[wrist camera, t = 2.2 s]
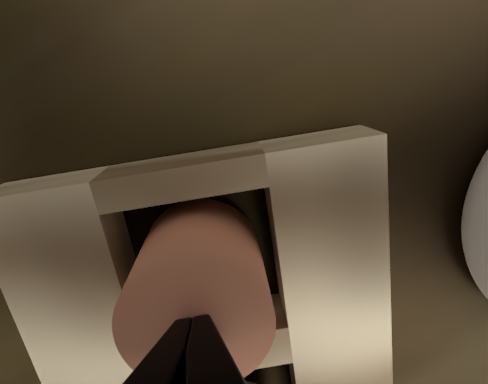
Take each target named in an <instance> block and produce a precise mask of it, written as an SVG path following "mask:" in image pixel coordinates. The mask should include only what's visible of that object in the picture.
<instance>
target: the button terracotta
mask: <svg viewBox="0 0 488 384" xmlns="http://www.w3.org/2000/svg"><path fill="white" fill-rule="evenodd" d="M205 314H209V315H210V316H211V318H212V320H213V322H214V324H215V325H216V327H217V329H218V331H219V333H220V335H221V337H222V339H223V341H224V342H225V344H226V346H227V348H228V350H229V352H230V354H231V356H232V357H233V359H234V361H235V363H236V365H237V367H238V369H239V371H240V372H241V374H242V376H243V378H244V377H246V376H247V375H249V374H250V373H251V372H252V371H254V370H255V369H256V368H257V367H258V366H259V365H260V364H261V362H262V361H263V360H264V358H265V357H266V355H267V354H268V352H269V350H270V348H271V346H272V343H273V341H274V337H275V332H276V315H275V310H274V306H273V302H272V297H271V293H270V289H269V285H268V280H267V276H266V272H265V267H264V263H263V259H262V255H261V250H260V246H259V242H258V238H257V235H256V232H255V230H254V228H253V226H252V224H251V223H250V222H249V220H248V219H247V218H246V217H245V216H244V215H243V214H242V213H241V212H240V211H238V210H237V209H236V208H234V207H232V206H230V205H228V204H226V203H223V202H220V201H216V200H211V199H194V200H188V201H184V202H181V203H178V204H176V205H174V206H172V207H170V208H169V209H167V210H166V211H165V212H163V213H162V214H161V215H160V216H159V217H158V218H157V219H156V221H155V222H154V223H153V225H152V227H151V228H150V230H149V233H148V235H147V237H146V239H145V241H144V243H143V246H142V248H141V250H140V252H139V254H138V256H137V258H136V261H135V263H134V265H133V267H132V269H131V271H130V274H129V276H128V278H127V280H126V282H125V284H124V287H123V289H122V291H121V293H120V295H119V297H118V300H117V302H116V304H115V307H114V311H113V315H112V334H113V338H114V342H115V345H116V347H117V350H118V352H119V353H120V355H121V357H122V358H123V360H124V361H125V362H126V363H127V365H128V366H129V367H130V368H131V369H132V370H134V369H135V368H136V367H137V365H138V364H139V363H140V362H141V361H142V359H143V358H144V357H145V356H146V355H147V353H148V352H149V351H150V350H151V349H152V347H153V346H154V345H155V344H156V343H157V341H158V340H159V339H160V338H161V337H162V335H163V334H164V333H165V332H166V331H167V329H168V328H169V327H170V326H171V325H172V323H173V322H174V321H175V320H177V319H181V318H187V317H191V318H192V319H193V317H195V316H199V315H205Z"/></svg>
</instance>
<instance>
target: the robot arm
mask: <svg viewBox="0 0 488 384" xmlns="http://www.w3.org/2000/svg"><path fill="white" fill-rule="evenodd" d="M123 384H246V382H245V380H244V378H243V376H242V374H241V372H240V371H239V369H238V367H237V365H236V363H235V361H234V359H233V357H232V356H231V354H230V352H229V350H228V348H227V346H226V344H225V342H224V341H223V339H222V337H221V335H220V333H219V331H218V329H217V327H216V325H215V324H214V322H213V320H212V318H211V316H210V315H209V314H205V315H199V316H195V317H193V319H192V318H191V317H187V318H181V319H177V320H175V321H174V322H173V323H172V325H171V326H170V327H169V328H168V329H167V331H166V332H165V333H164V334H163V335H162V337H161V338H160V339H159V340H158V341H157V343H156V344H155V345H154V346H153V347H152V349H151V350H150V351H149V352H148V353H147V355H146V356H145V357H144V358H143V359H142V361H141V362H140V363H139V364H138V365H137V367H136V368H135V369H134V370H133V371H132V373H131V374H130V375H129V376H128V377H127V379H126V380H125V381H124V382H123Z"/></svg>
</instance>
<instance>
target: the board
mask: <svg viewBox="0 0 488 384" xmlns="http://www.w3.org/2000/svg"><path fill="white" fill-rule="evenodd" d="M261 188H264V189H265V197H266V204H267V211H268V218H269V225H270V232H271V239H272V246H273V254H274V261H275V268H276V275H277V282H278V289H279V293H277V294H271V297H272V302H273V306H274V310H275V315H276V332H275V337H274V341H273V343H272V346H271V348H270V350H269V352H268V354H267V355H266V357H265V358H264V360H263V361H262V362H261V364H260V365H259V366H258V367H257V368H256V369H261V368H267V367H273V366H278V365H284V364H289V368H290V375H291V382H292V384H393V373H392V330H391V287H390V244H389V201H388V158H387V133H384V132H381V131H378V130H375V129H372V128H369V127H366V126H363V125H355V126H349V127H343V128H337V129H331V130H325V131H319V132H312V133H306V134H300V135H294V136H288V137H282V138H276V139H269V140H263V141H257V142H251V143H245V144H239V145H233V146H226V147H220V148H214V149H208V150H202V151H196V152H190V153H183V154H177V155H171V156H165V157H159V158H153V159H147V160H140V161H134V162H128V163H122V164H116V165H110V166H104V167H97V168H91V169H85V170H79V171H73V172H67V173H61V174H54V175H48V176H42V177H36V178H30V179H24V180H18V181H11V182H5V183H3V184H1V185H0V288H1V291H2V293H3V295H4V298H5V300H6V302H7V305H8V307H9V309H10V312H11V314H12V316H13V319H14V321H15V323H16V326H17V328H18V330H19V333H20V335H21V337H22V340H23V342H24V344H25V347H26V349H27V351H28V354H29V356H30V358H31V360H32V363H33V365H34V367H35V370H36V372H37V374H38V377H39V379H40V381H41V384H123V382H124V381H125V380H126V379H127V377H128V376H129V375H130V374H131V373H132V371H133V370H132V369H131V368H130V367H129V366H128V365H127V363H126V362H125V361H124V360H123V358H122V357H121V355H120V353H119V352H118V350H117V347H116V345H115V342H114V338H113V334H112V315H113V311H114V307H115V304H116V302H117V300H118V297H119V295H120V293H121V291H122V289H123V287H124V284H125V282H126V280H127V278H128V276H129V274H130V271H131V269H132V267H133V265H134V263H135V261H136V257H135V254H134V250H133V246H132V243H131V239H130V236H129V232H128V229H127V225H126V221H125V218H124V214H123V211H127V210H133V209H139V208H145V207H151V206H157V205H163V204H170V203H176V202H182V201H188V200H194V199H200V198H206V197H212V196H218V195H224V194H230V193H236V192H242V191H248V190H255V189H261Z"/></svg>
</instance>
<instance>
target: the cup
mask: <svg viewBox="0 0 488 384" xmlns="http://www.w3.org/2000/svg"><path fill="white" fill-rule="evenodd" d="M461 237H462V245H463V251H464V255H465V259H466V263H467V266H468V268H469V271H470V273H471V275H472V277H473V279H474V281H475V283H476V285H477V286H478V288H479V289H480V291H481V292H482V293H483V295H484V296H485V297H486V298H487V299H488V150H487V151H486V153H485V154H484V156H483V157H482V159H481V161H480V163H479V165H478V167H477V168H476V171H475V173H474V175H473V177H472V180H471V182H470V185H469V188H468V191H467V194H466V198H465V202H464V207H463V212H462V221H461Z"/></svg>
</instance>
